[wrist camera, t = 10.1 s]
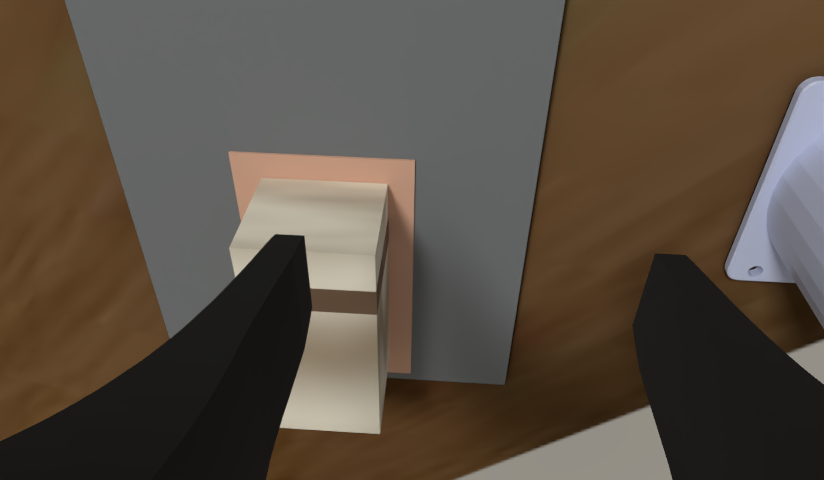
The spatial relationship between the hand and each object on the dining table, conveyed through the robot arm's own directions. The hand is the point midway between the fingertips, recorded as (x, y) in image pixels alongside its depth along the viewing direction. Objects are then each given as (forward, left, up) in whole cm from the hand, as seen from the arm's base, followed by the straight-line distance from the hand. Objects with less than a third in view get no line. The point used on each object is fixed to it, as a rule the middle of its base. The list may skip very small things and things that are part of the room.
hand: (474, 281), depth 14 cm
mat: (+5, +2, -9) cm, 11 cm away
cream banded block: (+5, +8, -9) cm, 13 cm away
